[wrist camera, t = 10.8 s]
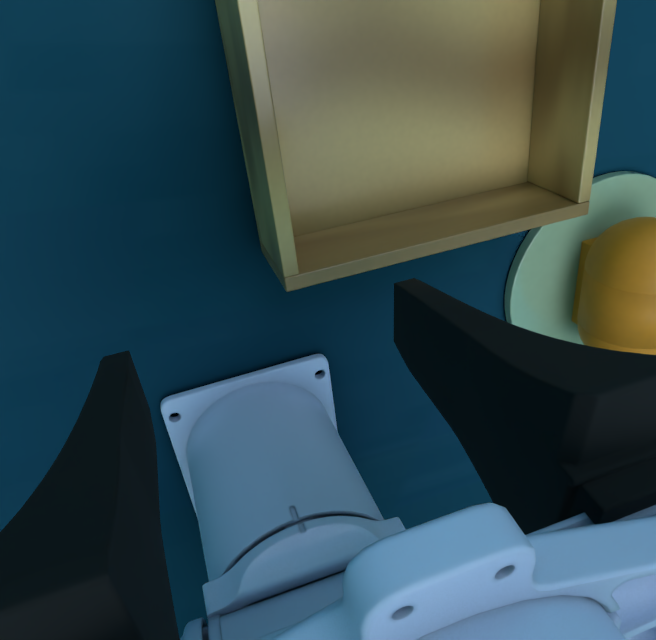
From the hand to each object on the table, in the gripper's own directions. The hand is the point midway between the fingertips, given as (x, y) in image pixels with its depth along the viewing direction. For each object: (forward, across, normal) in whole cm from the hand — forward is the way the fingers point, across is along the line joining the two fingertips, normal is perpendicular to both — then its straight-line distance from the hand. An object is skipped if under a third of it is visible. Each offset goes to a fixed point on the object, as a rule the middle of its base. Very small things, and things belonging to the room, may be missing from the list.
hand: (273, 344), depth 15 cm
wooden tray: (+10, -8, -4) cm, 14 cm away
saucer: (+9, -19, +8) cm, 23 cm away
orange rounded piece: (+8, -19, +8) cm, 22 cm away
